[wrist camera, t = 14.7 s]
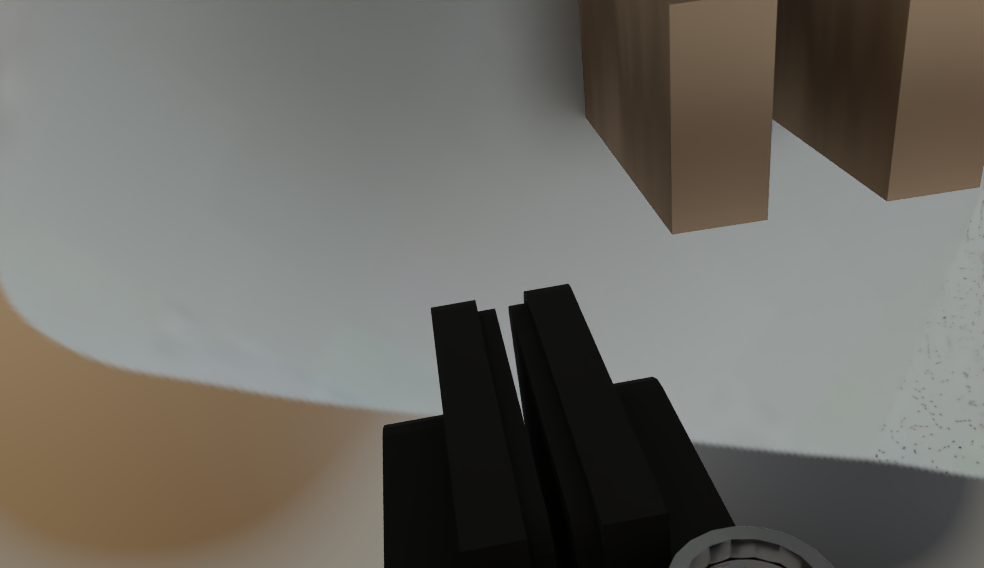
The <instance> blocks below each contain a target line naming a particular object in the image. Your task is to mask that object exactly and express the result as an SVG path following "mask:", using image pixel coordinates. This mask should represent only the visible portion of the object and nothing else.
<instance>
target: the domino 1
mask: <svg viewBox="0 0 984 568" xmlns="http://www.w3.org/2000/svg"><path fill="white" fill-rule="evenodd" d="M579 9H580V26H581V42H582V59H583V75H584V91H585V108H586V118H587V120H588V121H589V122H590V124H591V125H592V126H593V128H594V129H595V130H596V132H597V133H598V134H599V136H600V137H601V139H602V140H603V141H604V143H605V144H606V145H607V147H608V148H609V149H610V151H611V152H612V153H613V155H614V156H615V158H616V159H617V160H618V162H619V163H620V164H621V166H622V167H623V168H624V170H625V171H626V172H627V174H628V175H629V176H630V178H631V179H632V181H633V182H634V183H635V185H636V186H637V187H638V189H639V190H640V191H641V193H642V194H643V195H644V197H645V198H646V199H647V201H648V202H649V204H650V205H651V206H652V208H653V209H654V210H655V212H656V213H657V214H658V216H659V217H660V218H661V220H662V221H663V223H664V224H665V225H666V227H667V228H668V229H669V231H670V232H671V233H672V234H677V233H684V232H690V231H697V230H703V229H710V228H716V227H723V226H730V225H736V224H743V223H749V222H756V221H762V220H768V198H769V176H770V154H771V132H772V110H773V88H774V66H775V44H776V22H777V0H579Z"/></svg>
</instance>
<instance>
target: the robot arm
mask: <svg viewBox="0 0 984 568" xmlns="http://www.w3.org/2000/svg"><path fill="white" fill-rule="evenodd" d="M431 314H432V323H433V331H434V340H435V348H436V357H437V365H438V373H439V382H440V390H441V399H442V407H443V415H438V416H433V417H427V418H422V419H417V420H411V421H405V422H400V423H394V424H389V425H384V427H383V505H384V508H383V510H384V568H834V567H833V566H832V564H830V562H828V561H827V560H826V559H825V558H824V557H823V556H822V555H820V554H819V553H818V552H817V551H816V550H815V549H814V548H812V547H811V546H809V545H807V544H806V543H803V542H802V541H800V540H798V539H796V538H794V537H792V536H790V535H788V534H785V533H781V532H777V531H774V530H770V529H766V528H762V527H743V526H735V524H734V522H733V520H732V518H731V517H730V515H729V513H728V511H727V509H726V507H725V505H724V503H723V502H722V499H721V498H720V496H719V494H718V492H717V490H716V488H715V486H714V484H713V482H712V480H711V479H710V477H709V475H708V473H707V471H706V469H705V467H704V465H703V463H702V462H701V460H700V458H699V456H698V454H697V452H696V450H695V448H694V446H693V444H692V442H691V441H690V439H689V437H688V435H687V433H686V431H685V429H684V427H683V425H682V423H681V421H680V420H679V418H678V416H677V414H676V412H675V410H674V408H673V406H672V404H671V402H670V401H669V399H668V397H667V395H666V393H665V391H664V389H663V387H662V386H661V384H660V383H659V381H658V380H657V379H656V378H654V377H649V378H643V379H638V380H632V381H627V382H621V383H616V384H613V383H612V380H611V378H610V376H609V373H608V371H607V369H606V367H605V364H604V362H603V360H602V358H601V355H600V353H599V351H598V348H597V346H596V344H595V342H594V339H593V337H592V335H591V332H590V330H589V328H588V326H587V323H586V321H585V319H584V316H583V314H582V312H581V310H580V307H579V305H578V303H577V300H576V298H575V296H574V294H573V291H572V289H571V287H570V285H569V284H564V285H558V286H553V287H547V288H541V289H536V290H530V291H524V304H518V305H513V306H509V317H510V324H511V331H512V338H513V345H514V352H515V359H516V366H517V374H518V381H519V388H520V395H521V402H522V409H523V416H524V421H523V417H522V413H521V409H520V405H519V401H518V397H517V393H516V389H515V385H514V381H513V378H512V374H511V370H510V366H509V362H508V358H507V354H506V350H505V346H504V342H503V338H502V335H501V331H500V327H499V323H498V319H497V315H496V311H495V309H490V310H484V311H477V306H476V302H475V300H473V301H467V302H461V303H455V304H450V305H444V306H438V307H433V308H431ZM524 423H525V424H524Z"/></svg>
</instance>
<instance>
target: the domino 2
mask: <svg viewBox="0 0 984 568" xmlns="http://www.w3.org/2000/svg"><path fill="white" fill-rule="evenodd" d="M772 119H773V120H775V121H776V122H777V123H779V124H780V125H782V126H783V127H784V128H786V129H787V130H789V131H790V132H791V133H793V134H794V135H796V136H797V137H798V138H800V139H801V140H802V141H804V142H805V143H807V144H808V145H809V146H811V147H812V148H814V149H815V150H816V151H818V152H819V153H821V154H822V155H823V156H825V157H826V158H828V159H829V160H830V161H832V162H833V163H834V164H836V165H837V166H839V167H840V168H841V169H843V170H844V171H846V172H847V173H848V174H850V175H851V176H853V177H854V178H855V179H857V180H858V181H859V182H861V183H862V184H864V185H865V186H866V187H868V188H869V189H871V190H872V191H873V192H875V193H876V194H878V195H879V196H880V197H882V198H883V199H884V200H886V201H892V200H899V199H905V198H912V197H918V196H925V195H931V194H938V193H944V192H951V191H957V190H964V189H970V188H977V187H980V183H981V177H982V171H983V165H984V0H777V22H776V44H775V66H774V88H773V110H772Z"/></svg>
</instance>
